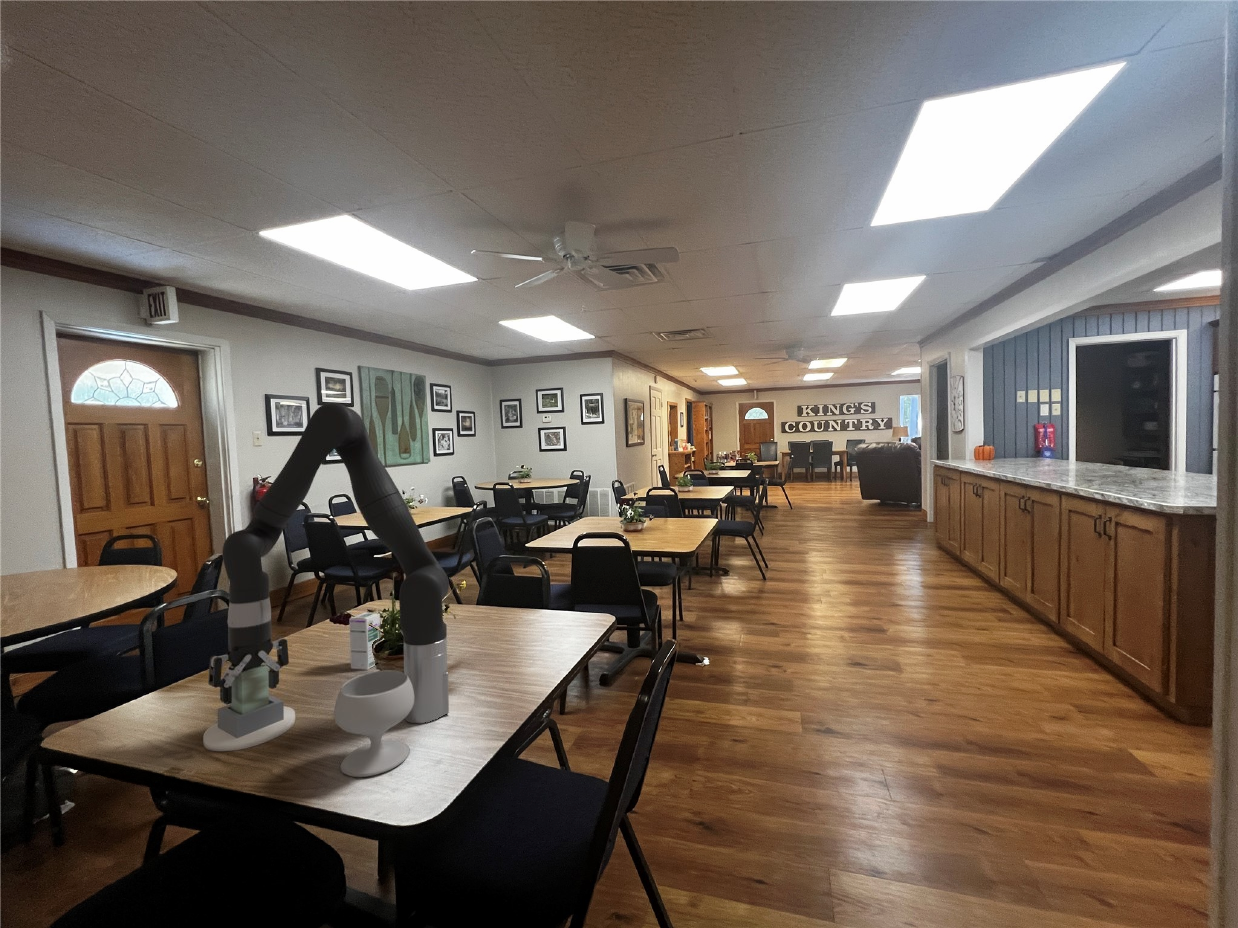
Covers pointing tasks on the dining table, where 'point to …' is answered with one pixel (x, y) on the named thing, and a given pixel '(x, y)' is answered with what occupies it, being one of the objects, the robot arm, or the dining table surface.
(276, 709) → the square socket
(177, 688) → the dining table surface
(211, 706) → the dining table surface
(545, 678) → the dining table surface
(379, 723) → the chalice
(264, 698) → the square peg
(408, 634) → the robot arm
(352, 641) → the syrup box
